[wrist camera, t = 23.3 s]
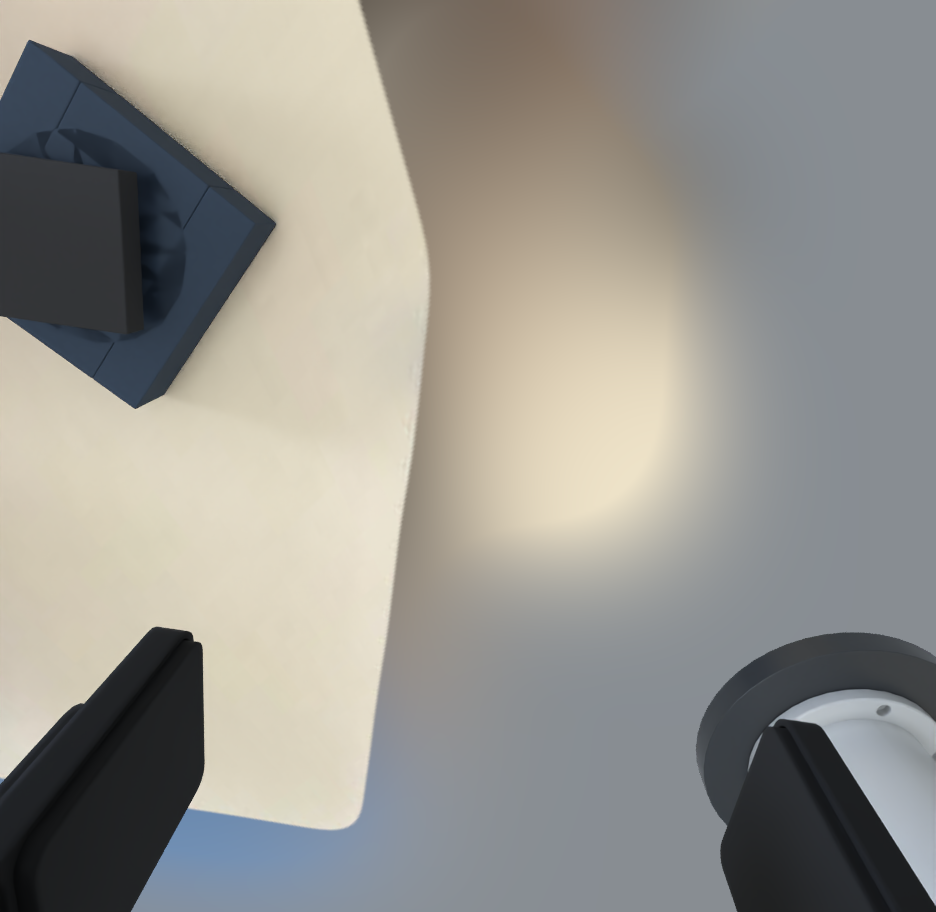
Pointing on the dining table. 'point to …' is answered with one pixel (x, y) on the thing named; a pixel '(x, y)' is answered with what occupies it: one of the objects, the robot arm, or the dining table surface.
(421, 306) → the dining table surface
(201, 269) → the base pad
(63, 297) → the black pad
